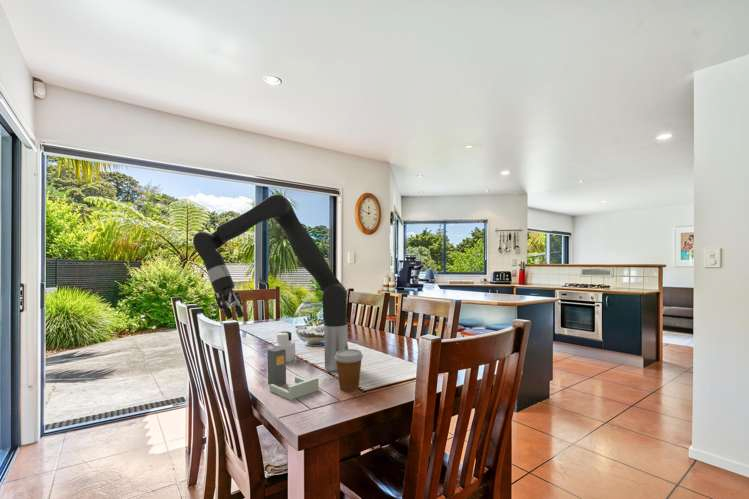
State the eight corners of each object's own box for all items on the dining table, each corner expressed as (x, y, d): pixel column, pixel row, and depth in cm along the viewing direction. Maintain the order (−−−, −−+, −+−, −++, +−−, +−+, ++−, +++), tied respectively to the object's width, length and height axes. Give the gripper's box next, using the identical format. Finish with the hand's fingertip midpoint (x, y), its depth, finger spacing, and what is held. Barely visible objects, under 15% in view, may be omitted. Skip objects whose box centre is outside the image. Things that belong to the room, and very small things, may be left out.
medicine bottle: (280, 357, 164) (279, 330, 164) (295, 357, 163) (295, 330, 163) (273, 362, 156) (272, 333, 157) (289, 362, 156) (289, 334, 156)
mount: (269, 390, 124) (269, 378, 124) (297, 381, 132) (297, 370, 132) (290, 400, 116) (290, 387, 116) (318, 389, 124) (318, 377, 124)
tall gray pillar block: (268, 383, 131) (267, 349, 131) (279, 380, 134) (278, 347, 134) (275, 386, 128) (274, 351, 128) (286, 383, 131) (285, 349, 131)
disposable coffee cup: (357, 394, 119) (357, 357, 119) (330, 392, 122) (329, 355, 122) (367, 384, 128) (366, 349, 128) (341, 382, 131) (340, 348, 131)
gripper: (219, 274, 137) (235, 314, 134) (238, 276, 151) (253, 312, 148) (201, 282, 137) (217, 323, 134) (222, 284, 151) (236, 320, 148)
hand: (236, 317), depth 141 cm, fingers open, 8 cm apart
